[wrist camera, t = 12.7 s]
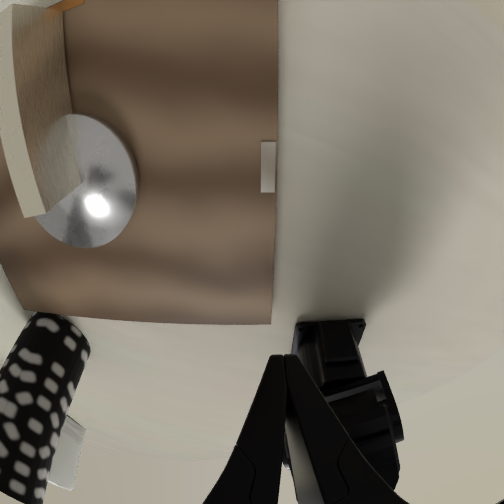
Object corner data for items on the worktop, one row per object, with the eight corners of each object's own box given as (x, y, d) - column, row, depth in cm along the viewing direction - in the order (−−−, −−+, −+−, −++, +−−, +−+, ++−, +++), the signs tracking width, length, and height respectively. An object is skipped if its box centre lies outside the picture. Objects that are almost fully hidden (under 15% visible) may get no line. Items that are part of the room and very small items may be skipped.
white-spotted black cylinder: (104, 352, 28) (56, 517, 12) (67, 363, 30) (23, 497, 14) (50, 301, 24) (-29, 473, 7) (21, 320, 26) (-43, 457, 10)
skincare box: (44, 407, 41) (23, 469, 28) (64, 411, 41) (44, 479, 28) (67, 426, 46) (51, 484, 33) (88, 430, 45) (73, 493, 32)
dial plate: (269, 311, 24) (271, 325, 23) (30, 300, 24) (23, 310, 23) (274, -30, 11) (277, -40, 9) (-31, 63, 11) (-44, 65, 9)
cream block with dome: (153, 235, 18) (129, 283, 14) (51, 246, 19) (18, 286, 15) (114, -11, 9) (70, -32, 5) (4, 45, 10) (-45, 51, 6)
